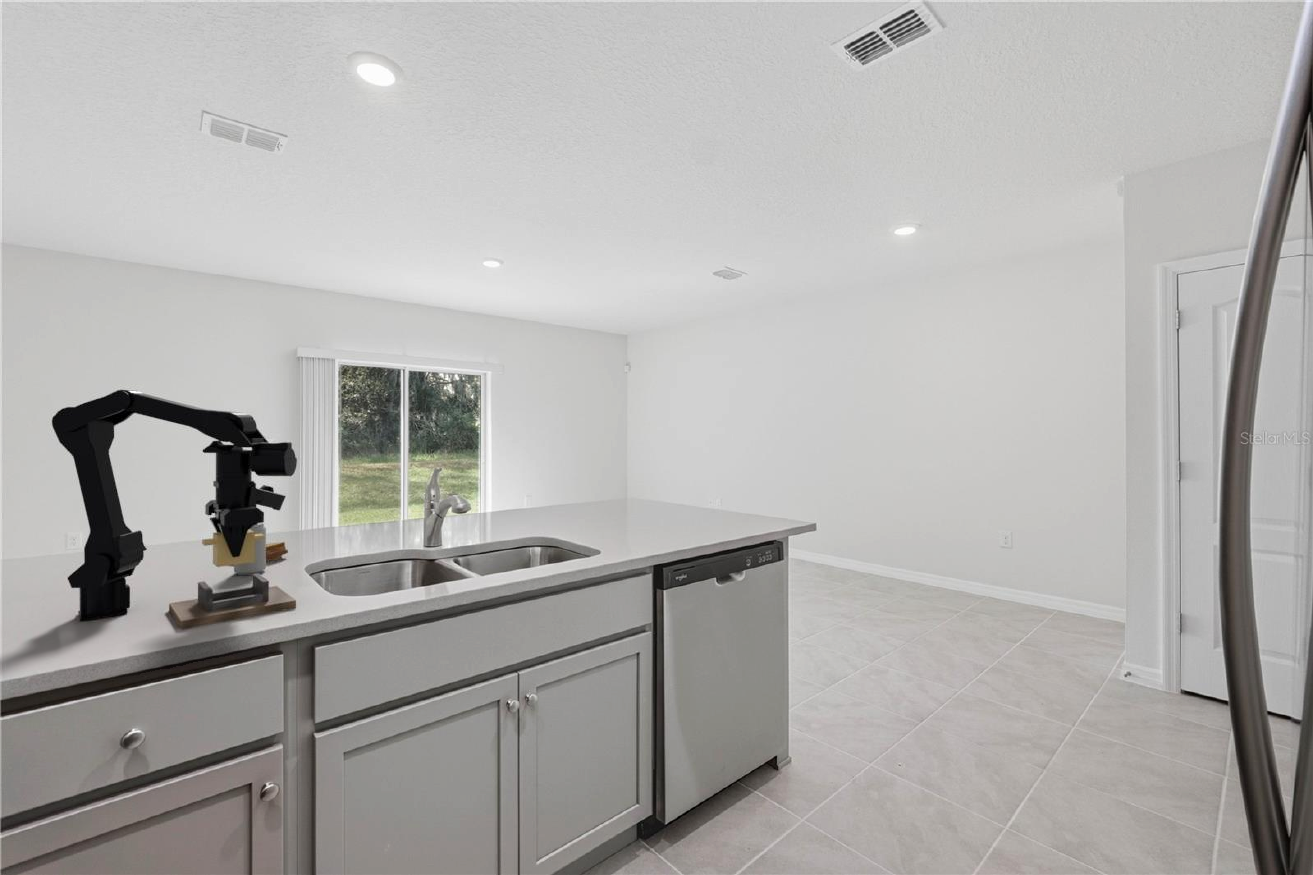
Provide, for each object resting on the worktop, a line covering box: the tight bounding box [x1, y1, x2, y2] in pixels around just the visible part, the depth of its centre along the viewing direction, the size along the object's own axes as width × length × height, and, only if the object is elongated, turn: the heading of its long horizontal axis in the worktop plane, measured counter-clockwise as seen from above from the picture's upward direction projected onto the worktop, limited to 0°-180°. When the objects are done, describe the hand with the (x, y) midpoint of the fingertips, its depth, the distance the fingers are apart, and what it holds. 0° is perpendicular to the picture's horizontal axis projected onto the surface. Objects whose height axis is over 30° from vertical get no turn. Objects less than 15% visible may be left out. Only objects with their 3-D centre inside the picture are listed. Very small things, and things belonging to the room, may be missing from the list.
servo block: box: [201, 529, 264, 568], centre depth 115 cm, size 10×4×6 cm, turn 137°
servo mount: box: [168, 573, 297, 630], centre depth 115 cm, size 18×14×6 cm
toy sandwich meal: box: [266, 541, 289, 564], centre depth 154 cm, size 12×14×5 cm
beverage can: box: [233, 522, 267, 576], centre depth 142 cm, size 6×6×12 cm
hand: (233, 554), depth 115 cm, fingers closed on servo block, 4 cm apart
